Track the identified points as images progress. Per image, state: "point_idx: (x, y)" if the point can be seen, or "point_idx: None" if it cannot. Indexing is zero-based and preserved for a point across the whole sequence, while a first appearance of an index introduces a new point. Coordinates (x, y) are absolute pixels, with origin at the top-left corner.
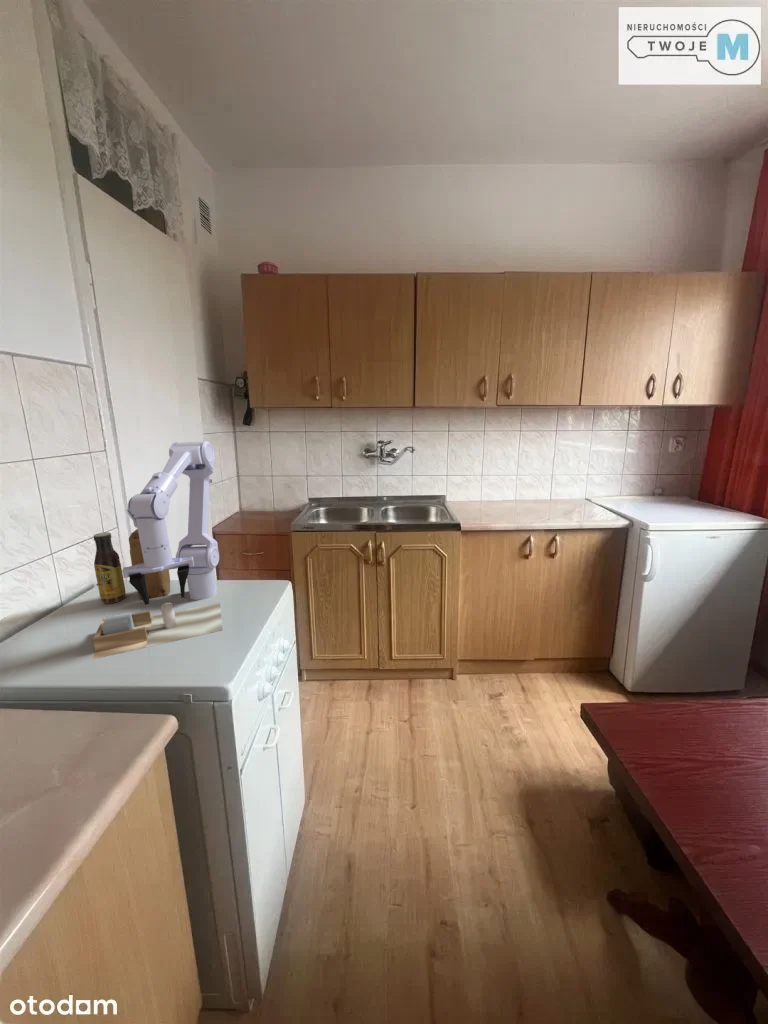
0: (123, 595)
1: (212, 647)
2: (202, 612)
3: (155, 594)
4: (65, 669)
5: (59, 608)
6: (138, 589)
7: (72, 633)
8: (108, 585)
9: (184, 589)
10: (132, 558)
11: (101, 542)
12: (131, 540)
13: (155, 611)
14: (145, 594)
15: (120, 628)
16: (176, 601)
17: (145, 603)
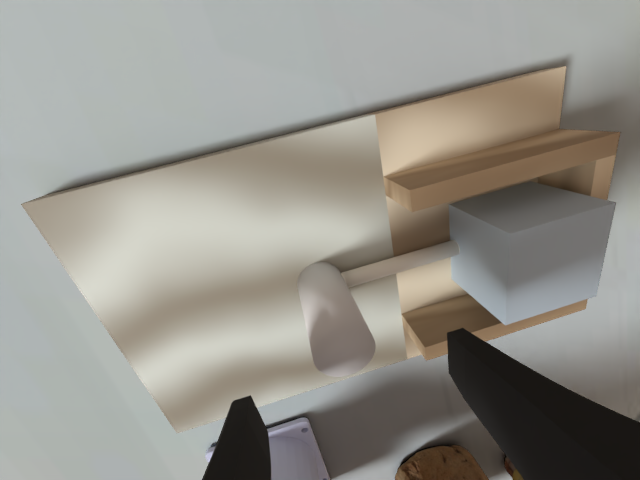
0: (513, 465)
1: (47, 88)
2: (221, 369)
3: (430, 470)
4: (622, 71)
5: (636, 415)
6: (618, 423)
7: (609, 301)
8: None
9: (207, 468)
10: None
11: None
12: None
13: (409, 396)
14: (507, 389)
15: (519, 214)
16: (360, 445)
17: (467, 332)
